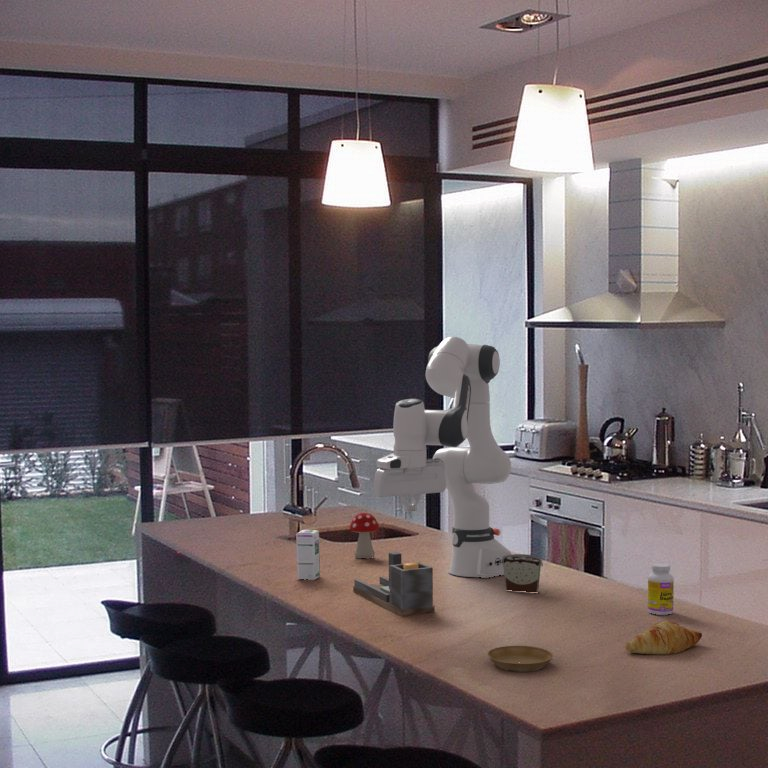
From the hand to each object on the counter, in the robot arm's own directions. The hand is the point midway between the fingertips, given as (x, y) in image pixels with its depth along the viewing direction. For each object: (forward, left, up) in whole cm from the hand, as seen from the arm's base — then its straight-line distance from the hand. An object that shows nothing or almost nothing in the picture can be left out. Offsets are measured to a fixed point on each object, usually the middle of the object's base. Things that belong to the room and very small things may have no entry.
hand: (410, 511), depth 313 cm
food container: (-40, -7, -27) cm, 49 cm away
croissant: (-36, +61, -27) cm, 76 cm away
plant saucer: (0, +56, -27) cm, 63 cm away
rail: (0, -12, -27) cm, 29 cm away
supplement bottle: (-58, +32, -27) cm, 72 cm away
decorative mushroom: (-18, -72, -27) cm, 79 cm away
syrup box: (+10, -51, -27) cm, 58 cm away
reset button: (0, 0, -20) cm, 20 cm away
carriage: (0, -10, -25) cm, 27 cm away
